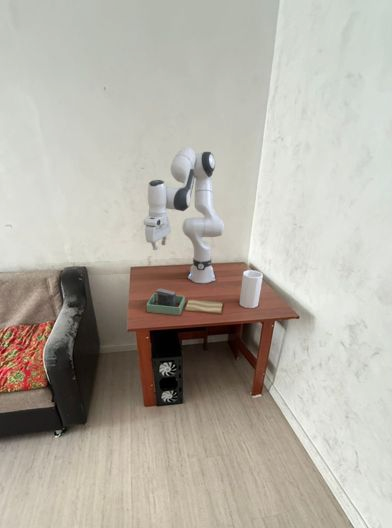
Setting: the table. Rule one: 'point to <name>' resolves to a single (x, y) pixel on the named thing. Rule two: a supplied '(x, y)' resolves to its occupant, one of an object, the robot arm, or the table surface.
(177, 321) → the table surface
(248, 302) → the cup
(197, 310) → the board
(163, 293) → the camera
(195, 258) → the robot arm
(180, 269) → the table surface
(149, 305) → the bin
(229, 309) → the table surface
